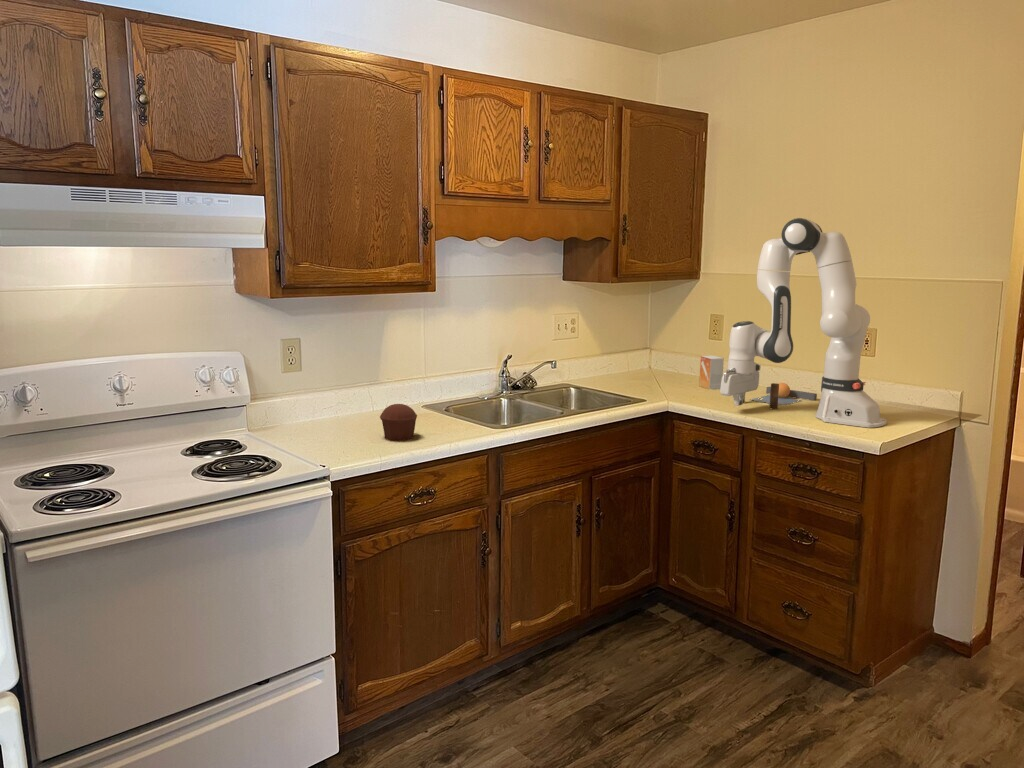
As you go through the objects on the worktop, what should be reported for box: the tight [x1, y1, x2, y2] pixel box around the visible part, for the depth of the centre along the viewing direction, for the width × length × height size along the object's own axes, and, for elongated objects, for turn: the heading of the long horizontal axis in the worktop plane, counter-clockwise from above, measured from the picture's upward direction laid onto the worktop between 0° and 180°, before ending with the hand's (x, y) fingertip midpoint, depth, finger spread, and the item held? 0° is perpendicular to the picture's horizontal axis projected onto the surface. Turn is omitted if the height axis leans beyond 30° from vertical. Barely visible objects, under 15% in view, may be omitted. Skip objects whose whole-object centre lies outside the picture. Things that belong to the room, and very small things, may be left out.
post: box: [768, 382, 779, 410], centre depth 283 cm, size 3×3×9 cm
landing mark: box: [749, 394, 803, 406], centre depth 298 cm, size 14×14×1 cm
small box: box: [698, 355, 724, 390], centre depth 323 cm, size 8×6×13 cm
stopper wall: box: [765, 386, 818, 401], centre depth 305 cm, size 20×2×2 cm, turn 43°
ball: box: [777, 382, 791, 398], centre depth 302 cm, size 6×6×6 cm
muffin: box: [379, 403, 418, 442], centre depth 236 cm, size 12×11×10 cm
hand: (738, 405), depth 279 cm, fingers closed
